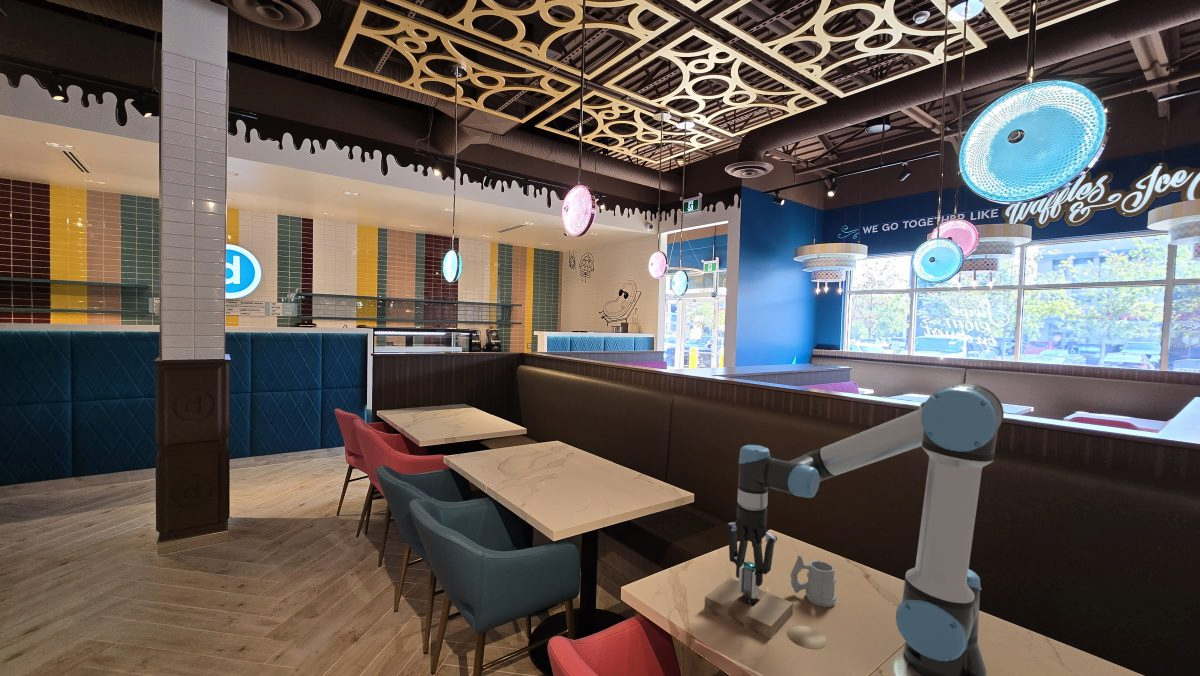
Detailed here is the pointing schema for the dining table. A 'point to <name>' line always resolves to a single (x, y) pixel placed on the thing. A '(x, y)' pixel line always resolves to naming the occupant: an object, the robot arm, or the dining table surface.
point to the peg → (748, 583)
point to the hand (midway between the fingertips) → (748, 593)
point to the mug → (815, 582)
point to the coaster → (806, 637)
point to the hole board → (749, 608)
